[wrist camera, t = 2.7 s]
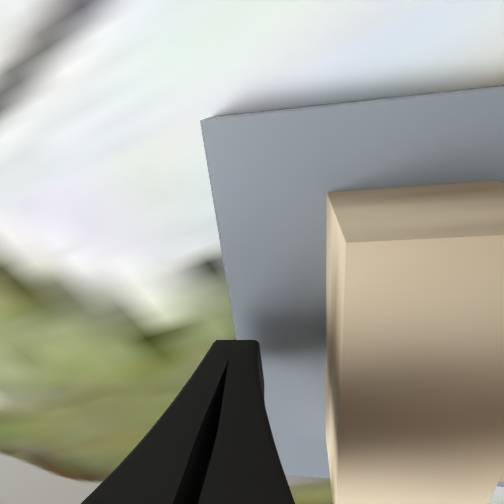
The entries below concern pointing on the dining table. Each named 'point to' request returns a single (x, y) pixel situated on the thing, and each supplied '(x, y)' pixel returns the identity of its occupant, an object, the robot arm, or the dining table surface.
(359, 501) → the t block
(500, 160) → the board
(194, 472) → the robot arm
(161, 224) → the dining table surface
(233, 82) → the dining table surface
